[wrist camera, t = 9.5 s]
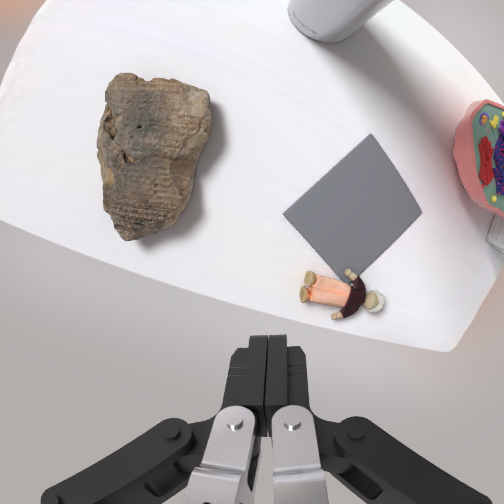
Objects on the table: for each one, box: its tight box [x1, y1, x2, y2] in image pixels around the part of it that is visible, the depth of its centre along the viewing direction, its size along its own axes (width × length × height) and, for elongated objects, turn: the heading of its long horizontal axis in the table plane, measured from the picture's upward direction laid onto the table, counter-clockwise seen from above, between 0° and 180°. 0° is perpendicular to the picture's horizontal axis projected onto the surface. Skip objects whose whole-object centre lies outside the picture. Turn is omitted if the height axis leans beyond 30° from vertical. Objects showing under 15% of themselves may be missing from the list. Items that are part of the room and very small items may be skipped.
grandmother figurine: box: [300, 269, 385, 320], centre depth 39 cm, size 8×4×13 cm
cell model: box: [453, 99, 504, 218], centre depth 30 cm, size 17×20×11 cm
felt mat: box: [283, 134, 422, 284], centre depth 36 cm, size 16×14×1 cm
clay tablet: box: [97, 73, 212, 241], centre depth 30 cm, size 14×5×20 cm
